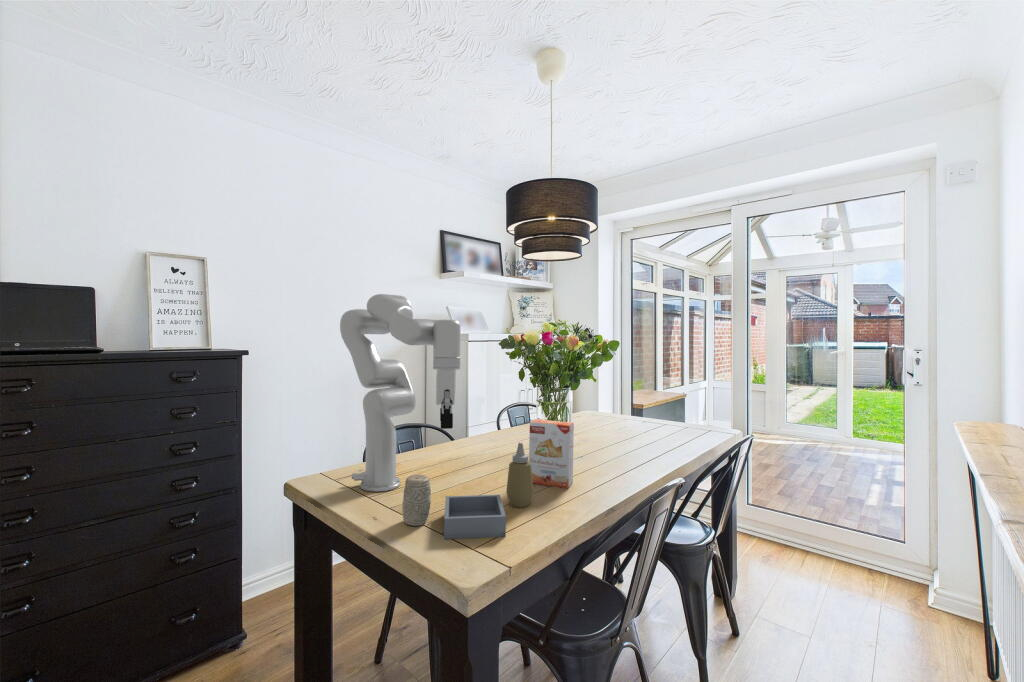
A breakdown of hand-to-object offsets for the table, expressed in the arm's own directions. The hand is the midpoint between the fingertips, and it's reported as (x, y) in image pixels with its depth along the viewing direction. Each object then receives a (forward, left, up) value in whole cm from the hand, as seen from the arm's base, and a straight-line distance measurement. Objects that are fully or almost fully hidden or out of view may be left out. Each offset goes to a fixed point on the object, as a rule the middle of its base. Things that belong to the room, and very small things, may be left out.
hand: (446, 424), depth 124 cm
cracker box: (+35, +20, -25) cm, 47 cm away
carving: (-7, -7, -25) cm, 26 cm away
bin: (+8, -10, -24) cm, 27 cm away
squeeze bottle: (+22, +3, -25) cm, 33 cm away
